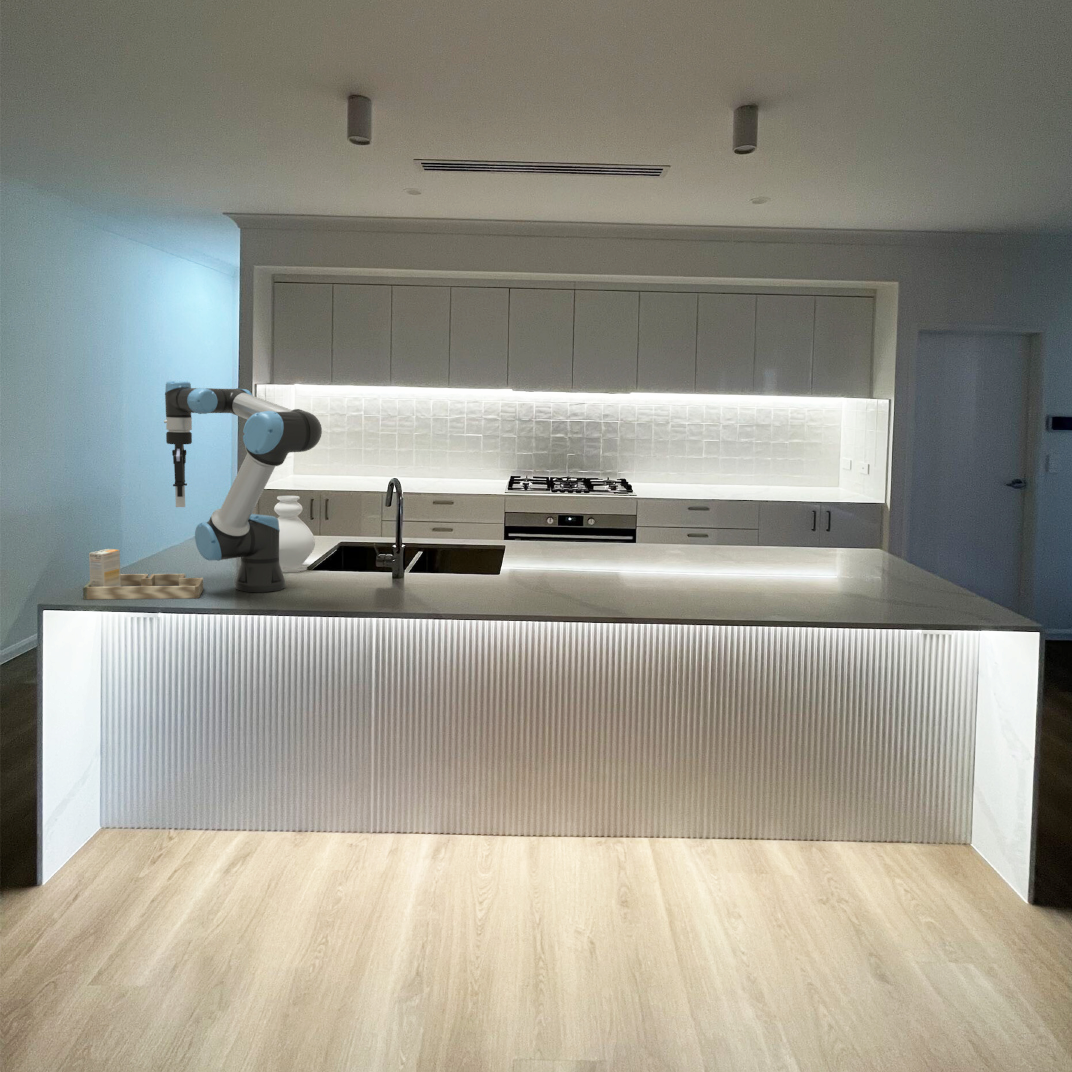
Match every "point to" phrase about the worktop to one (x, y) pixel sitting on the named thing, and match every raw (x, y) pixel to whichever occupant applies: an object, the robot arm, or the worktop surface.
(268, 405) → the robot arm
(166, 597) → the tray
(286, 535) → the decorative vase
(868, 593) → the worktop surface
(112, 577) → the supplement box
